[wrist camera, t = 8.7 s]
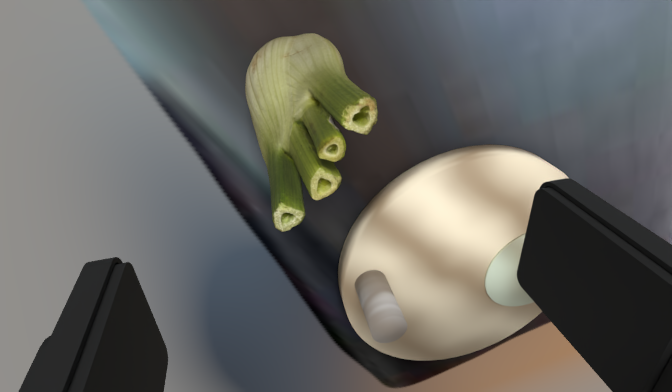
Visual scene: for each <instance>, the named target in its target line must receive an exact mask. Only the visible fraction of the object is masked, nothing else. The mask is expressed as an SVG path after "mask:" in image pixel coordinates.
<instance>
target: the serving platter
mask: <svg viewBox="0 0 672 392" xmlns="http://www.w3.org/2000/svg"><path fill="white" fill-rule="evenodd" d="M565 178H568V177H567V176H566V175H565V174H564V173H563V172H561V171H560V170H558V169H557V168H556V167H554V166H553V165H551V164H550V163H548V162H547V161H545V160H544V159H542V158H540V157H539V156H537V155H535V154H534V153H531V152H528V151H526V150H523V149H521V148H516V147H511V146H506V145H490V144H488V145H476V146H469V147H464V148H459V149H454V150H451V151H448V152H445V153H442V154H439V155H436V156H434V157H432V158H430V159H427V160H425V161H423V162H421V163H419V164H417V165H415V166H414V167H412V168H410V169H409V170H407V171H405V172H404V173H402V174H401V175H399V176H398V177H397V178H395V179H394V180H393V181H391V182H390V183H389V184H387V185H386V186H385V187H384V188H383V189H382V190H381V191H380V192H379V193H378V194H377V195H376V196H375V197H374V198H373V199H372V200H371V201H370V202H369V203H368V205H367V206H366V207H365V208H364V209H363V210H362V212H361V213H360V215H359V216H358V218H357V219H356V221H355V222H354V224H353V225H352V227H351V229H350V231H349V233H348V235H347V237H346V239H345V242H344V245H343V248H342V251H341V254H340V260H339V266H338V283H339V289H340V294H341V297H342V300H343V304H344V307H345V310H346V313H347V316H348V319H349V321H350V323H351V325H352V327H353V328H354V330H355V331H356V333H357V334H358V335H359V336H360V337H361V338H362V339H363V340H364V341H365V342H366V343H368V344H369V345H370V346H371V347H373V348H375V349H377V350H379V351H380V352H382V353H385V354H388V355H390V356H393V357H398V358H402V359H408V360H429V361H430V360H441V359H447V358H453V357H458V356H461V355H465V354H469V353H472V352H475V351H477V350H480V349H483V348H485V347H488V346H490V345H492V344H494V343H497V342H498V341H500V340H502V339H504V338H506V337H508V336H510V335H511V334H513V333H514V332H516V331H517V330H519V329H521V328H522V327H523V326H525V325H526V324H527V323H529V322H530V321H531V320H533V319H534V318H535V317H536V316H537V315H539V314H540V313H541V312H542V310H541V309H540V308H539V307H538V306H537V305H536V303H535V302H534V301H533V300H532V299H531V298H530V297H529V295H528V294H527V293H526V292H525V291H524V290H523V289H522V287H521V286H520V284H519V282H518V279H517V269H518V265H519V260H520V256H521V252H522V247H523V243H524V238H525V234H526V230H527V225H528V221H529V216H530V212H531V208H532V203H533V199H534V195H535V192H536V191H537V190H538V189H540V186H541V185H542V184H543V183H545V182H548V181H553V180H559V179H565Z"/></svg>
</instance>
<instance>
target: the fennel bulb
mask: <svg viewBox="0 0 672 392" xmlns="http://www.w3.org/2000/svg"><path fill="white" fill-rule="evenodd" d="M245 92H246V98H247V103H248V106H249V109H250V113H251V117H252V121H253V125H254V129H255V131H256V135H257V139H258V142H259V146H260V149H261V152H262V155H263V158H264V160H265V163H266V165H267V168H268V175H269V181H270V189H271V204H272V219H273V223H274V226H275V228H277V229H278V230H280V231H282V232H283V231H288V230H290V229H291V228H292V227H294V226H296V225H299V224H300V223H301V222H302V220H303V219H304V217H305V208H304V201H303V193H302V184H301V177H302V180H303V182H304V184H305V186H306V188H307V190H308V192H309V194H310V196H311V197H312V198H313V199H314V200H321V199H323V198H325V197H327V196H329V195H331V194H332V193H334V192H335V190H337V189H338V188H339V185H340V183H341V181H342V177H341V175H340V173H339V171H338V169H337V168H336V167H335V165H334V162H336V161H338V160H341V159H342V158H343V157H344V155H345V151H346V142H345V139H344V137H343V135H342V133H341V131H340V130H339V129H338V128H337V127H336V125H335V123H334V121H333V118H335V119H336V121H337V122H339V124H340V125H341V126H343V127H344V128H345V129H347V130H352V131H355V132H357V133H361V134H364V135H367V134H368V133H369V132H370V131H371V129H372V127H373V125H374V124H376V122H377V115H378V111H377V103H376V100H375V99H374V98H373V97H371V96H370V95H368V94H367V93H365V92H364V91H362V90H361V89H360V88H359V87H357V86H356V85H355V84H354V83H352V82H351V81H350V80H349V79H348V77H347V76H346V74H345V71H344V66H343V61H342V58H341V56H340V54H339V52H338V50H337V49H336V47H335V46H334V45H333V44H332V43H331V42H330V41H329V40H327V39H325V38H323V37H321V36H319V35H318V34H314V33H308V34H302V35H298V36H288V37H280V38H276V39H273V40H272V41H269V42H268V43H266V44H265V45H264V46H263V47H262V48H261V49H260V50H259V51H257V52H256V54H255V55H254V57H253V59H252V61H251V63H250V65H249V67H248V70H247V74H246V85H245Z"/></svg>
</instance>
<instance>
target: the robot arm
mask: <svg viewBox="0 0 672 392" xmlns="http://www.w3.org/2000/svg"><path fill="white" fill-rule="evenodd" d="M517 279H518V282H519V284H520V286H521V287H522V289H523V290H524V291H525V292H526V293H527V294H528V295H529V297H530V298H531V299H532V300H533V301H534V302H535V303H536V305H537V306H538V307H539V308H540V309H541V310H542V311H543V313H544V314H545V315H546V316H547V317H548V318H549V319H550V321H551V322H552V323H553V324H554V325H555V326H556V327H557V328H558V330H559V331H560V332H561V333H562V334H563V335H564V337H565V338H566V339H567V340H568V341H569V342H570V343H571V345H572V346H573V347H574V348H575V349H576V350H577V351H578V353H579V354H580V355H581V356H582V357H583V358H584V359H585V361H586V362H587V363H588V364H589V365H590V366H591V367H592V369H593V370H594V371H595V372H596V373H597V374H598V375H599V377H600V378H601V379H602V380H603V381H604V382H605V383H606V385H607V386H608V387H609V388H610V389H611V390H612V391H613V392H672V245H671V244H670V243H668V242H667V241H665V240H664V239H662V238H660V237H659V236H657V235H656V234H654V233H653V232H651V231H650V230H648V229H647V228H645V227H644V226H642V225H641V224H639V223H638V222H636V221H635V220H633V219H632V218H630V217H629V216H627V215H626V214H624V213H623V212H621V211H620V210H618V209H616V208H615V207H613V206H612V205H610V204H609V203H607V202H606V201H604V200H603V199H601V198H600V197H598V196H597V195H595V194H594V193H592V192H591V191H589V190H588V189H586V188H585V187H583V186H582V185H580V184H579V183H577V182H575V181H574V180H572V179H570V178H565V179H559V180H553V181H548V182H545V183H543V184H542V185H541V186H540V189H538V190H537V191H536V192H535V195H534V199H533V203H532V208H531V212H530V216H529V221H528V225H527V230H526V234H525V238H524V243H523V247H522V252H521V256H520V260H519V265H518V269H517ZM167 365H168V354H167V348H166V345H165V343H164V341H163V338H162V336H161V333H160V331H159V329H158V326H157V324H156V321H155V319H154V317H153V314H152V312H151V309H150V307H149V305H148V302H147V300H146V298H145V295H144V293H143V290H142V288H141V285H140V283H139V281H138V278H137V276H136V273H135V271H134V268H133V266H132V264H131V263H129V262H126V263H122V261H121V260H120V259H119V258H117V257H115V258H110V259H103V260H98V261H92V262H88V263H86V264H85V265H84V267H83V269H82V271H81V273H80V276H79V277H78V279H77V281H76V284H75V286H74V288H73V290H72V292H71V294H70V296H69V299H68V301H67V303H66V305H65V307H64V309H63V311H62V314H61V316H60V318H59V320H58V322H57V324H56V327H55V329H54V331H53V333H52V335H51V336H49V337H48V338H47V339H45V340H44V342H43V343H42V345H41V346H40V348H39V350H38V352H37V354H36V357H35V359H34V361H33V363H32V365H31V367H30V369H29V371H28V373H27V375H26V378H25V380H24V382H23V384H22V386H21V388H20V390H19V392H163V391H164V385H165V379H166V371H167Z"/></svg>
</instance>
